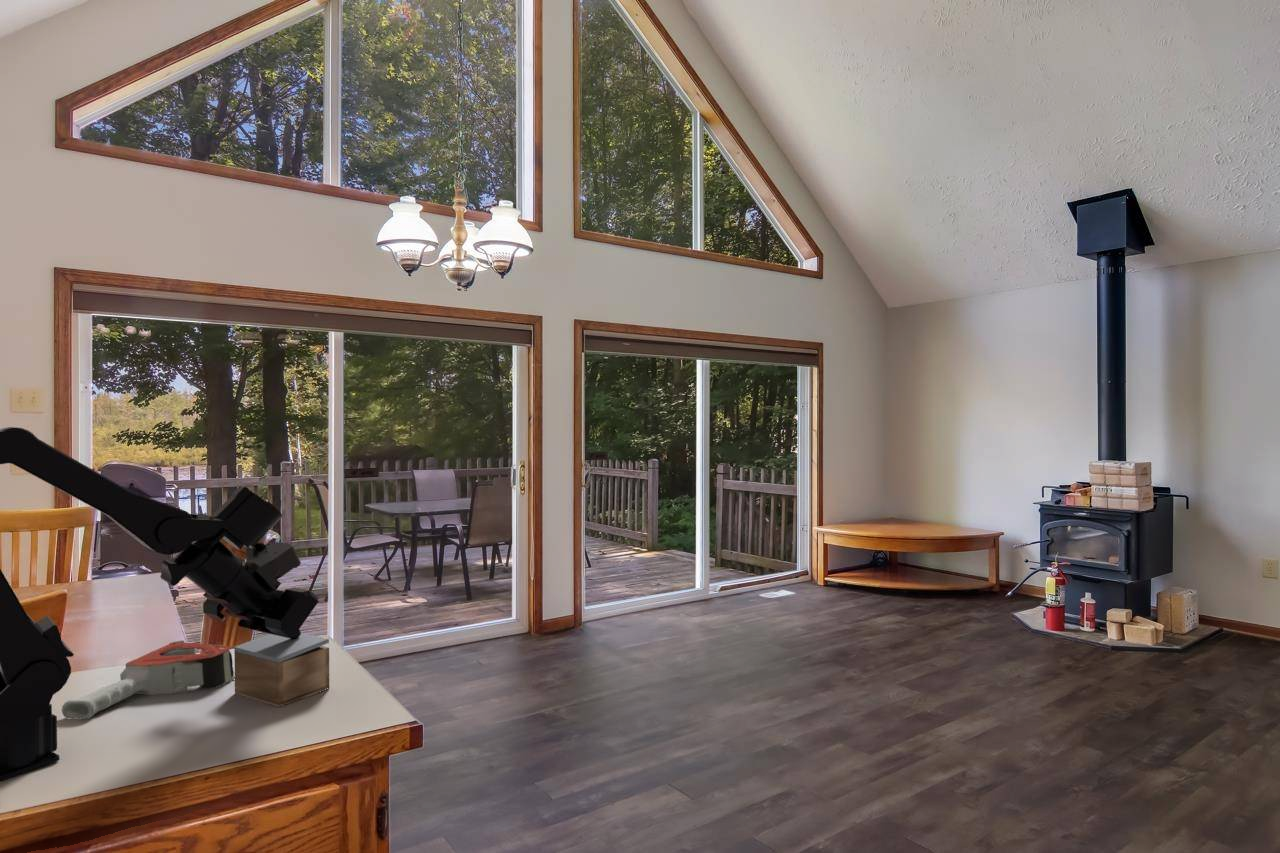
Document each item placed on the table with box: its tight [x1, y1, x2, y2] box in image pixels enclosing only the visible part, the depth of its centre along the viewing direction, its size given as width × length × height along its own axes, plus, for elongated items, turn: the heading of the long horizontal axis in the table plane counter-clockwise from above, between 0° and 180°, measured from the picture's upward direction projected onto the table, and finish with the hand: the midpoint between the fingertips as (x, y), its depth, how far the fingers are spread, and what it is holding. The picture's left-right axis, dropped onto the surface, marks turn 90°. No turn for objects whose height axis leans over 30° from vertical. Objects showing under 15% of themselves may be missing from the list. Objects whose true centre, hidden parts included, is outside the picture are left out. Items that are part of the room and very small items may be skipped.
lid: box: [233, 631, 330, 663], centre depth 110 cm, size 8×10×1 cm
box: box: [233, 645, 330, 708], centre depth 110 cm, size 8×10×6 cm
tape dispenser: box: [61, 640, 235, 720], centre depth 111 cm, size 18×5×20 cm
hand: (297, 636), depth 112 cm, fingers closed, pressing on lid
